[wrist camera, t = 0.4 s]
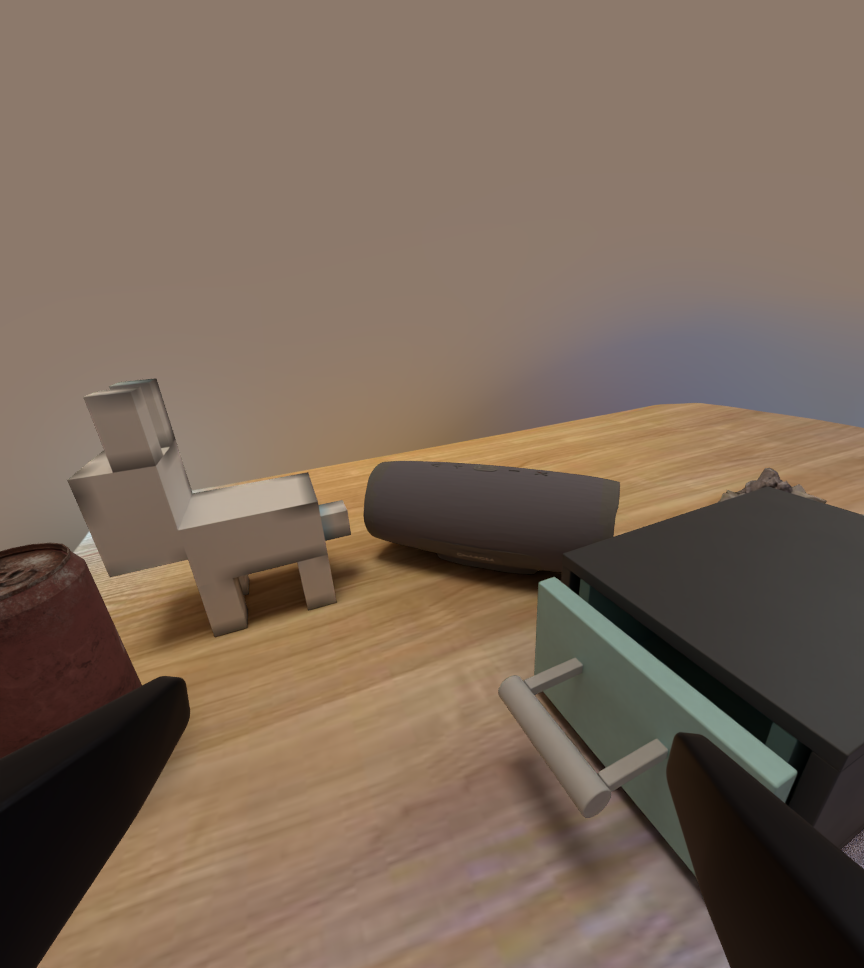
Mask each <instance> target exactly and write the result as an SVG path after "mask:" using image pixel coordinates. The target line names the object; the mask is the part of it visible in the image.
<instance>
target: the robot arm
mask: <svg viewBox="0 0 864 968" xmlns="http://www.w3.org/2000/svg"><path fill="white" fill-rule="evenodd" d="M189 718H190V707H189V700H188V694H187V687H186V683H185V681H184V680H183V679H182V678H179V677H170V676H161V677H158V678H156V679H154V680H152V681H150V682H148V683H146V684H144V685H143V686H141V687H139V688H137V689H135V690H133V691H131V692H129V693H127V694H125V695H123V696H121V697H119V698H117V699H115V700H113V701H111V702H110V703H108V704H106V705H104V706H102V707H100V708H98V709H96V710H94V711H92V712H90V713H88V714H86V715H84V716H82V717H80V718H78V719H77V720H75V721H73V722H71V723H69V724H67V725H65V726H63V727H61V728H59V729H57V730H55V731H53V732H51V733H49V734H47V735H45V736H43V737H42V738H40V739H38V740H36V741H34V742H32V743H30V744H28V745H26V746H24V747H22V748H20V749H18V750H16V751H14V752H12V753H10V754H9V755H7V756H5V757H3V758H1V759H0V968H37V966H38V964H39V963H40V961H41V960H42V958H43V957H44V955H45V954H46V952H47V951H48V949H49V948H50V946H51V945H52V943H53V942H54V940H55V939H56V937H57V936H58V934H59V933H60V931H61V930H62V928H63V927H64V925H65V924H66V922H67V921H68V919H69V918H70V916H71V915H72V913H73V912H74V910H75V909H76V907H77V906H78V904H79V903H80V901H81V900H82V898H83V896H84V895H85V893H86V892H87V890H88V889H89V887H90V886H91V884H92V883H93V881H94V880H95V878H96V877H97V875H98V874H99V872H100V871H101V869H102V868H103V866H104V865H105V863H106V862H107V860H108V859H109V857H110V856H111V854H112V853H113V851H114V850H115V848H116V847H117V845H118V844H119V842H120V841H121V839H122V838H123V836H124V835H125V833H126V831H127V830H128V828H129V827H130V825H131V824H132V822H133V820H134V819H135V817H136V816H137V814H138V812H139V811H140V809H141V807H142V806H143V804H144V802H145V800H146V799H147V797H148V795H149V793H150V791H151V790H152V788H153V786H154V784H155V782H156V781H157V779H158V777H159V775H160V773H161V772H162V770H163V768H164V766H165V764H166V763H167V761H168V759H169V757H170V755H171V754H172V752H173V750H174V748H175V746H176V745H177V743H178V741H179V739H180V737H181V736H182V734H183V732H184V730H185V728H186V726H187V724H188V722H189ZM666 778H667V783H668V787H669V790H670V793H671V796H672V800H673V803H674V806H675V810H676V813H677V816H678V819H679V823H680V826H681V829H682V832H683V836H684V839H685V842H686V845H687V849H688V852H689V855H690V858H691V862H692V865H693V868H694V872H695V875H696V878H697V881H698V884H699V887H700V890H701V893H702V896H703V899H704V901H705V904H706V907H707V909H708V912H709V915H710V917H711V920H712V922H713V925H714V927H715V930H716V932H717V935H718V937H719V940H720V942H721V945H722V947H723V950H724V952H725V955H726V957H727V960H728V962H729V965H730V967H731V968H864V869H863V868H862V867H860V866H859V865H858V864H857V863H856V862H855V861H853V860H852V859H851V858H850V857H849V856H847V855H846V854H845V853H844V852H843V851H841V850H840V849H839V848H838V847H837V846H835V845H834V844H833V843H832V842H831V841H829V840H828V839H827V838H826V837H825V836H823V835H822V834H821V833H820V832H819V831H818V830H816V829H815V828H814V827H813V826H812V825H810V824H809V823H808V822H807V821H806V820H804V819H803V818H802V817H801V816H800V815H798V814H797V813H796V812H795V811H794V810H792V809H791V808H790V807H789V806H788V805H786V804H785V803H784V802H783V801H782V800H781V799H779V798H778V797H777V796H776V795H775V794H773V793H772V792H771V791H770V790H769V789H767V788H766V787H765V786H764V785H763V784H761V783H760V782H759V781H758V780H757V779H755V778H754V777H753V776H752V775H751V774H749V773H748V772H747V771H746V770H745V769H743V768H742V767H741V766H740V765H739V764H738V763H736V762H735V761H734V760H733V759H732V758H730V757H729V756H728V755H727V754H726V753H724V752H723V751H722V750H721V749H720V748H718V747H717V746H716V745H715V744H714V743H712V742H711V741H710V740H709V739H708V738H706V737H705V736H703V735H700V734H694V733H685V732H679V733H677V734H676V735H675V736H674V738H673V742H672V746H671V750H670V754H669V758H668V762H667V766H666Z"/></svg>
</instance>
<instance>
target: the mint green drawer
mask: <svg viewBox="0 0 864 968" xmlns="http://www.w3.org/2000/svg"><path fill="white" fill-rule="evenodd" d="M542 691H543V692H544V693H545V694H546V696H547V697H548V698H549V699H550V700H551V702H552V703H553V704H554V705H555V707H556V708H557V709H558V710H559V711H560V713H561V714H562V715H563V716H564V717H565V719H566V720H567V721H568V722H569V724H570V725H571V726H572V727H573V728H574V730H575V731H576V732H577V733H578V734H579V736H580V737H581V738H582V739H583V740H584V742H585V743H586V744H587V745H588V747H589V748H590V749H591V750H592V751H593V753H594V754H595V755H596V756H597V757H598V759H599V760H600V761H601V762H602V764H603V765H604V766H605V767H606V768H604V769H603V770H601V771H599V772H598V775H597V773H596V772H595V771H594V770H593V768H592V767H591V766H590V765H589V763H588V762H587V761H586V759H585V758H584V757H583V756H582V754H581V753H580V752H579V751H578V749H577V748H576V747H575V746H574V744H573V743H572V742H571V741H570V739H569V738H568V737H567V736H566V734H565V733H564V732H563V731H562V729H561V728H560V727H559V725H558V724H557V723H556V722H555V720H554V719H553V718H552V717H551V715H550V714H549V713H548V712H547V710H546V709H545V708H544V707H543V705H542V704H541V703H540V702H539V700H538V699H537V698H536V696H535V694H538V693H540V692H542ZM498 694H499V696H500V698H501V699H502V700H503V702H504V703H505V705H506V706H507V708H508V709H509V711H510V712H511V713H512V715H513V716H514V718H515V719H516V721H517V722H518V723H519V725H520V726H521V728H522V729H523V731H524V732H525V733H526V735H527V736H528V738H529V739H530V741H531V742H532V744H533V745H534V746H535V748H536V749H537V751H538V752H539V754H540V755H541V756H542V758H543V759H544V761H545V762H546V764H547V765H548V766H549V768H550V769H551V771H552V772H553V774H554V775H555V777H556V778H557V779H558V781H559V782H560V784H561V785H562V787H563V788H564V789H565V791H566V792H567V794H568V795H569V797H570V798H571V799H572V801H573V802H574V804H575V805H576V807H577V808H578V810H579V811H580V812H581V814H582V815H583V816H584V817H585V818H590V817H593V816H595V815H597V814H598V813H599V812H601V811H602V810H603V809H604V808H605V806H606V805H607V804H608V802H609V800H610V798H611V792H612V791H614V790H616V789H617V788H619V787H620V786H621V787H622V788H623V789H624V790H625V791H626V793H627V794H628V795H629V796H630V797H631V799H632V800H633V801H634V802H635V803H636V805H637V806H638V807H639V808H640V810H641V811H642V812H643V813H644V814H645V816H646V817H647V818H648V819H649V820H650V822H651V823H652V824H653V825H654V827H655V828H656V829H657V830H658V831H659V833H660V834H661V835H662V836H663V837H664V839H665V840H666V841H667V842H668V843H669V845H670V846H671V847H672V848H673V850H674V851H675V852H676V853H677V854H678V856H679V857H680V858H681V859H682V860H683V862H684V863H685V864H686V865H687V866H688V868H689V869H690V870H691V871H692V873H693V874H694V875H695V872H694V868H693V865H692V862H691V858H690V855H689V852H688V849H687V845H686V842H685V839H684V836H683V832H682V829H681V826H680V823H679V819H678V816H677V813H676V810H675V806H674V803H673V800H672V796H671V793H670V790H669V787H668V783H667V778H666V766H667V762H668V758H669V754H670V750H671V746H672V742H673V738H674V736H675V735H676V734H677V733H679V732H685V733H694V734H700V735H703V736H705V737H706V738H708V739H709V740H710V741H711V742H712V743H714V744H715V745H716V746H717V747H718V748H720V749H721V750H722V751H723V752H724V753H726V754H727V755H728V756H729V757H730V758H732V759H733V760H734V761H735V762H736V763H738V764H739V765H740V766H741V767H742V768H743V769H745V770H746V771H747V772H748V773H749V774H751V775H752V776H753V777H754V778H755V779H757V780H758V781H759V782H760V783H761V784H763V785H764V786H765V787H766V788H767V789H769V790H770V791H771V792H772V793H773V794H775V795H776V796H777V797H778V798H779V799H781V800H782V801H783V802H784V803H785V804H786V805H789V803H790V800H791V798H792V796H793V793H794V791H795V789H796V787H797V784H798V782H799V780H800V777H801V775H802V773H803V771H804V768H805V766H806V764H807V761H808V759H809V757H810V755H811V752H812V750H811V749H809V748H808V747H807V746H805V745H804V744H803V743H801V742H800V741H799V740H797V739H796V738H795V737H793V736H792V735H791V734H789V733H788V732H787V731H785V730H784V729H783V728H781V727H780V726H779V725H777V724H776V723H774V722H773V721H772V720H770V719H769V718H768V717H766V716H765V715H764V714H762V713H761V712H760V711H758V710H757V709H756V708H754V707H753V706H752V705H750V704H749V703H748V702H746V701H745V700H744V699H742V698H741V697H740V696H738V695H737V694H736V693H734V692H733V691H731V690H730V689H729V688H727V687H726V686H725V685H723V684H722V683H721V682H719V681H718V680H717V679H715V678H714V677H713V676H711V675H710V674H709V673H707V672H706V671H705V670H703V669H702V668H701V667H699V666H698V665H697V664H695V663H694V662H692V661H691V660H690V659H688V658H687V657H686V656H684V655H683V654H682V653H680V652H679V651H678V650H676V649H675V648H674V647H672V646H671V645H670V644H668V643H667V642H666V641H664V640H663V639H662V638H660V637H659V636H658V635H656V634H655V633H653V632H652V631H651V630H649V629H648V628H647V627H645V626H644V625H643V624H641V623H640V622H639V621H637V620H636V619H635V618H633V617H632V616H631V615H629V614H628V613H627V612H625V611H624V610H623V609H621V608H620V607H619V606H617V605H616V604H614V603H613V602H612V601H610V600H609V599H608V598H606V597H605V596H604V595H602V594H601V593H600V592H598V591H597V590H596V589H594V588H593V587H592V586H590V585H589V584H588V583H586V582H585V581H584V580H582V579H581V580H580V591H579V596H578V595H577V594H576V593H574V592H573V591H572V590H571V589H569V588H568V587H567V586H566V585H564V584H563V583H562V582H561V581H559V580H558V579H557V578H556V577H552V578H549V579H546V580H543V581H541V582H539V584H538V606H537V627H536V649H535V671H534V676H532V677H530V678H528V679H525V680H524V681H523V680H522V679H521V678H520V677H519V676H516V675H514V676H510V677H508V678H507V679H505V680H504V681H503V682H502V683H501V685H500V687H499V690H498ZM695 876H696V875H695Z"/></svg>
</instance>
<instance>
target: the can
mask: <svg viewBox="0 0 864 968" xmlns="http://www.w3.org/2000/svg"><path fill="white" fill-rule="evenodd" d="M141 686H142V684H141V682H140V680H139V678H138V676H137V673H136V671H135V669H134V667H133V665H132V663H131V660H130V658H129V656H128V654H127V652H126V649H125V647H124V645H123V643H122V641H121V638H120V636H119V634H118V632H117V630H116V628H115V625H114V623H113V621H112V619H111V617H110V614H109V612H108V610H107V608H106V606H105V603H104V601H103V599H102V597H101V595H100V593H99V590H98V588H97V586H96V584H95V582H94V579H93V577H92V575H91V573H90V571H89V568H88V566H87V564H86V562H85V560H84V559H82V558H81V557H79V556H77V555H76V554H74V553H73V552H71V551H70V549H69V548H68V547H66V546H65V545H63V544H58V543H40V544H31V545H26V546H20V547H16V548H11V549H7V550H4V551H0V759H1V758H3V757H5V756H7V755H9V754H10V753H12V752H14V751H16V750H18V749H20V748H22V747H24V746H26V745H28V744H30V743H32V742H34V741H36V740H38V739H40V738H42V737H43V736H45V735H47V734H49V733H51V732H53V731H55V730H57V729H59V728H61V727H63V726H65V725H67V724H69V723H71V722H73V721H75V720H77V719H78V718H80V717H82V716H84V715H86V714H88V713H90V712H92V711H94V710H96V709H98V708H100V707H102V706H104V705H106V704H108V703H110V702H111V701H113V700H115V699H117V698H119V697H121V696H123V695H125V694H127V693H129V692H131V691H133V690H135V689H137V688H139V687H141Z"/></svg>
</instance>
